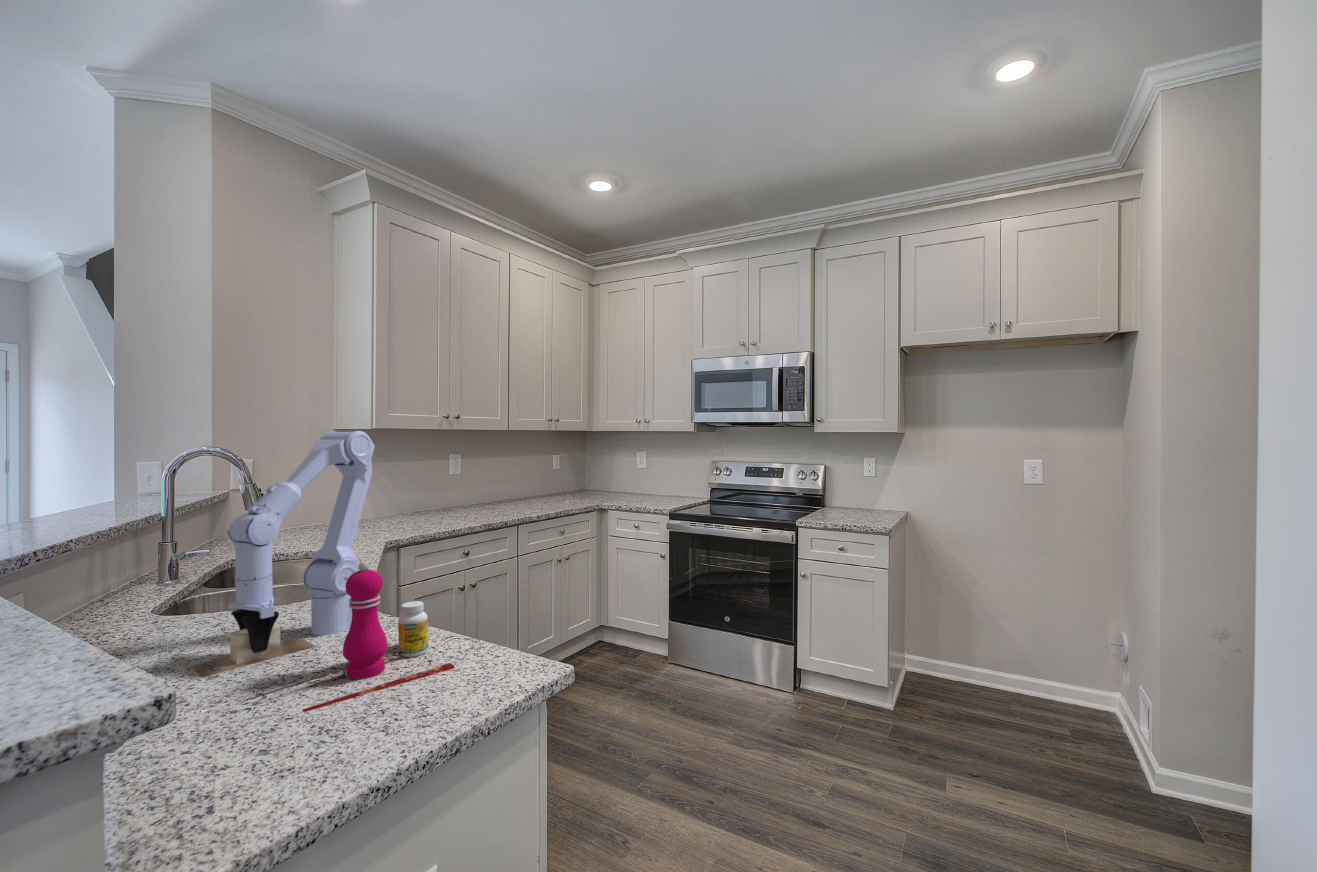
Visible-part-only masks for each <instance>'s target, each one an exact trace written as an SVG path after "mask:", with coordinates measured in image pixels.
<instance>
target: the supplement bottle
mask: <svg viewBox="0 0 1317 872" xmlns="http://www.w3.org/2000/svg"><path fill="white" fill-rule="evenodd" d="M424 605H425V604H424V602H423V601H418V600H416V601H409V602H405V603H403V604H401V607H400V608H401V610H400V612H401V613H402V614H401V615H399V617H398V620H397V629H398V630H397V631H398V650H399V652H398V654H399V656H401V657H403V658H414V657H418V656H421V655H422V656H423V655H424V654H426V653H427V652H428V650H429V622H428V620H429V619H428V614H427V613H426V612H425V611H424V609H425V607H424Z"/></svg>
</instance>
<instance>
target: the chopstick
mask: <svg viewBox="0 0 1317 872" xmlns="http://www.w3.org/2000/svg"><path fill="white" fill-rule="evenodd" d="M453 669H455V665H454V664H452V663H451V662H449V663H445V664H441V665H440V666H435V667H432V668H430V669H426V670H423V671H419V672H416V673H413V674H410V675H407V676H404V677H400V678H397V679H395V680H392V681H387V682H385V683H381V684H378V685H375V686H372V687H370V688H366V689H362V690H360V691H357V692H354V693H350V694H347V695H344V696H341V697H338V698H334V699H332V700H328V701H326V702H322V703H318V704H315V705H312V706H309V707H306V708H303V709H302V712H303V713H306V712H308V711H309V712H310V711H312V710H316V709H320V708H323V707H327V706H330V705H334V704H336V702H337V703H341V702H344V701H348V700H350V698H351V699H353V698H357V696H358V697H361V696H364V695H367V694H371V693H374V692H375V693H376V692H378V691H381V690H384V689H388V688H392V687H395V686H398V685H402V684H405V683H409V682H412V681H414V680H418V679H422V678H425V677H426V678H427V677H429V676H432V675H436V674H440V673H443V672H447V671H449V670H453ZM360 695H361V696H360ZM340 701H341V702H340ZM333 703H334V704H333Z"/></svg>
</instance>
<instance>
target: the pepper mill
mask: <svg viewBox="0 0 1317 872" xmlns="http://www.w3.org/2000/svg"><path fill="white" fill-rule="evenodd" d="M383 582H384V581H383V577H382V575H381V574H380V573H379V572H377V571H376V570H372V569H370V563H369V562H368V561H362V562H360V563H359V565H358V570H357V572H355V573H353V574H352V575H350V576H349V578H348V579H347V582H346V587H345V588H346V592H347V594H348V595H349V596H350V597H351V599H349V602H350V605H349V607H350V608H352V622H351V626H350V629H348V632H347V634H346V637H345V638H344V643H343V645H342V656H343V658H344V659H345V660H347V664H346V666H345V670H346V671H345V675H346V677H347V678H350V679H352V680H353V679H354V680H361V679H367V678H372V677H375V676H377V675H380V674H381V673H383V672H384V671H385V668H386V662H385V661H386V659H385V658H384V657H383V655H384V654H385V653H386V651H387V649H388V639H387V636H386V633H385V631H384V629H383V627H382V625H381V623H380V619H379V615H378V607H379V606H378V605H379V604H380V603H381V600H380V598H381V595H379V593H380V592H381V590H382V588H383V585H384V584H383Z"/></svg>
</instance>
